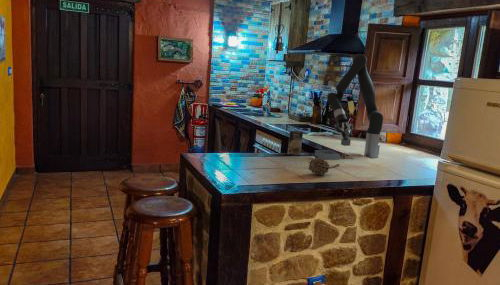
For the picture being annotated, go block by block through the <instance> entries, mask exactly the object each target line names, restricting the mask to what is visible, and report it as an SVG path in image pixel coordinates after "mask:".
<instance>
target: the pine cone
mask: <svg viewBox="0 0 500 285" xmlns="http://www.w3.org/2000/svg"><path fill="white" fill-rule="evenodd" d="M325 161H326V162H325ZM338 167H340V163H336V164H335V165H332V166H330V164H329V163H328V161H327V160H324V159H322V160H321V158H319V157H318V159H317V158H315V157H314V158H312V159H310V161H309V162H308V170H309V171H311V173H312V174H315V175H321V176H322V175H326V173H327V174H328V173H329V172H330V171H329V170H331V169H336V168H338Z"/></svg>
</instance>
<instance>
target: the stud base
mask: <svg viewBox="0 0 500 285" xmlns="http://www.w3.org/2000/svg"><path fill="white" fill-rule="evenodd" d="M339 160H354V158H353V157H350V156H348V155H347V154H346V153H345V152H343V153H342V155H340V158H339Z"/></svg>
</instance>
